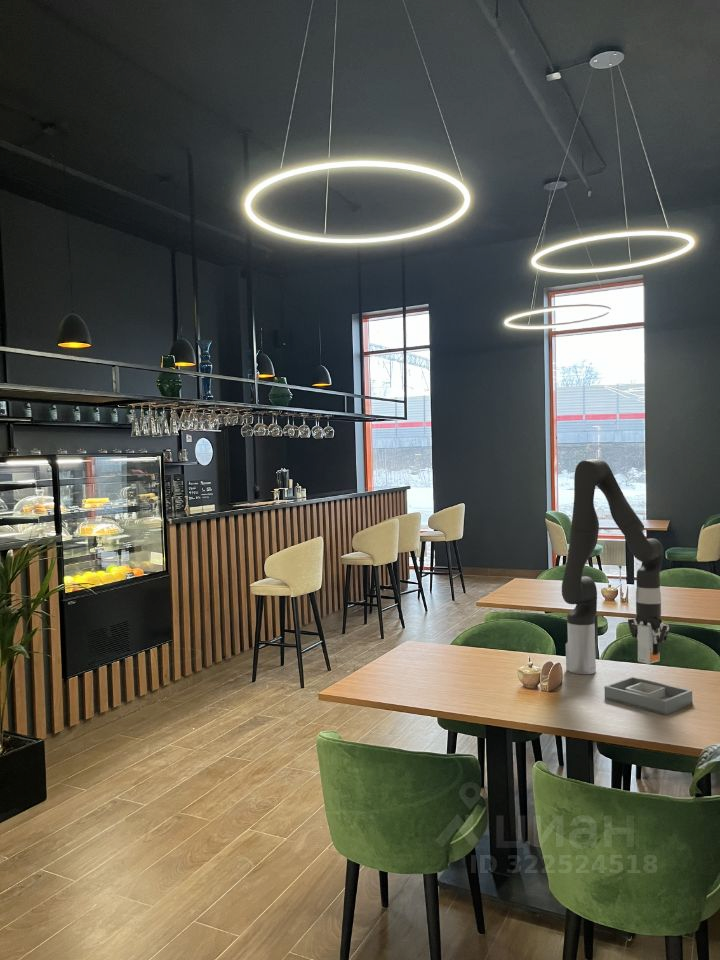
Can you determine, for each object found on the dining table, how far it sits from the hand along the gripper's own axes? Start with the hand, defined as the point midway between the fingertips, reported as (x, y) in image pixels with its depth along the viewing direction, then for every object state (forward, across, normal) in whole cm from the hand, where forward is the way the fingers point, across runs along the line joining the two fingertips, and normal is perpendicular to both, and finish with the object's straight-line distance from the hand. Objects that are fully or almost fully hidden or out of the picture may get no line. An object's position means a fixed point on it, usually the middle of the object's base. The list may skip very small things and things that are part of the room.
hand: (648, 652), depth 232 cm
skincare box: (+3, 0, 0) cm, 3 cm away
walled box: (+11, +7, -13) cm, 19 cm away
